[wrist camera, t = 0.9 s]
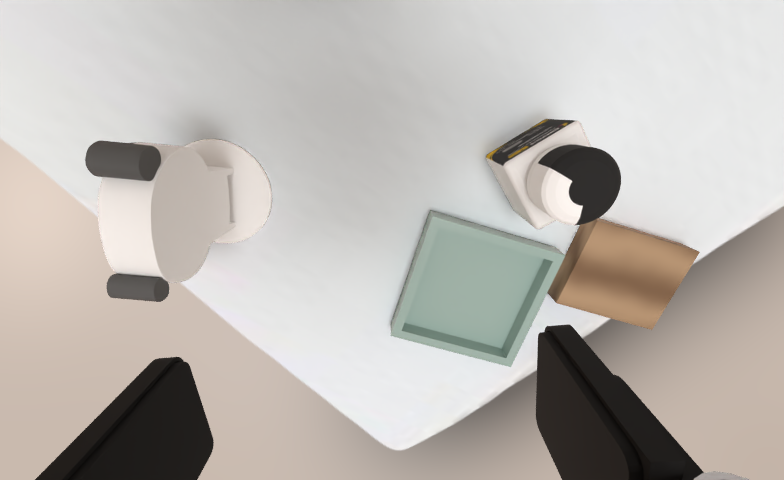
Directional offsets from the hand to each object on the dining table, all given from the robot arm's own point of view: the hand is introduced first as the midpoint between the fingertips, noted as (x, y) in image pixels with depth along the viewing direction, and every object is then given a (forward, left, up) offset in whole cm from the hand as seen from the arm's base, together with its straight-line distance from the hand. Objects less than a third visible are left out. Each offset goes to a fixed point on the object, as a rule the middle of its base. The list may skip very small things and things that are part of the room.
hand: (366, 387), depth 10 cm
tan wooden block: (+2, +28, -32) cm, 43 cm away
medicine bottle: (-6, +14, -32) cm, 35 cm away
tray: (+9, +13, -31) cm, 35 cm away
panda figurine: (+6, -17, -32) cm, 36 cm away
